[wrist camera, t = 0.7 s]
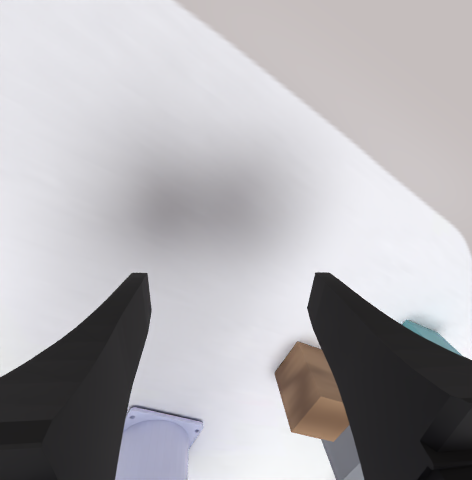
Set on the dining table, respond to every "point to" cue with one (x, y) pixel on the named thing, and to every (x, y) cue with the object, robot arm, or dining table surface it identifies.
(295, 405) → the walnut block
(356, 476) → the charcoal block
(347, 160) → the dining table surface
